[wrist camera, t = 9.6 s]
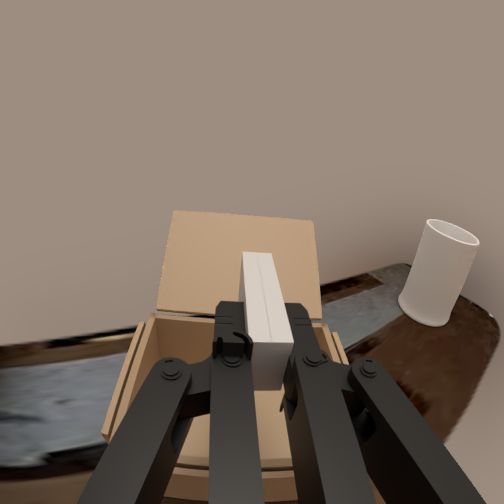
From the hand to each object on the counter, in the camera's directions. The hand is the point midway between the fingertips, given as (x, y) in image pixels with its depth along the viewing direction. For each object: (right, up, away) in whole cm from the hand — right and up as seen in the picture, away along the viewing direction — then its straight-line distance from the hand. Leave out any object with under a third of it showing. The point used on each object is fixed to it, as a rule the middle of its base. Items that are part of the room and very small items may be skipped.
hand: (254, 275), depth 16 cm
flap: (-1, -4, +7) cm, 8 cm away
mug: (+26, -7, +21) cm, 34 cm away
